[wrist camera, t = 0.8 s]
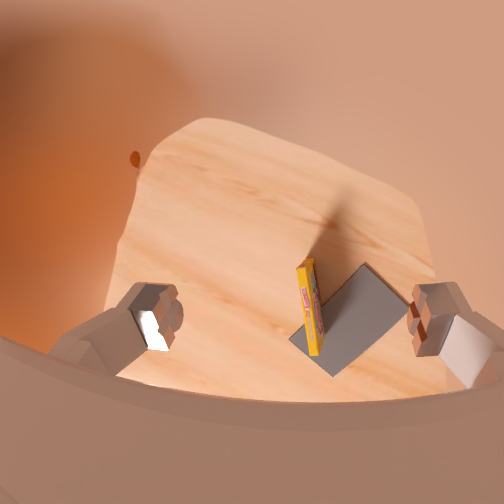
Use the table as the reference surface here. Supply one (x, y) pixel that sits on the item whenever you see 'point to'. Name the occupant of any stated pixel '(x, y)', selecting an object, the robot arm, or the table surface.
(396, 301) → the charcoal mat
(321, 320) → the candy box
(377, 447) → the robot arm
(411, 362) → the table surface
